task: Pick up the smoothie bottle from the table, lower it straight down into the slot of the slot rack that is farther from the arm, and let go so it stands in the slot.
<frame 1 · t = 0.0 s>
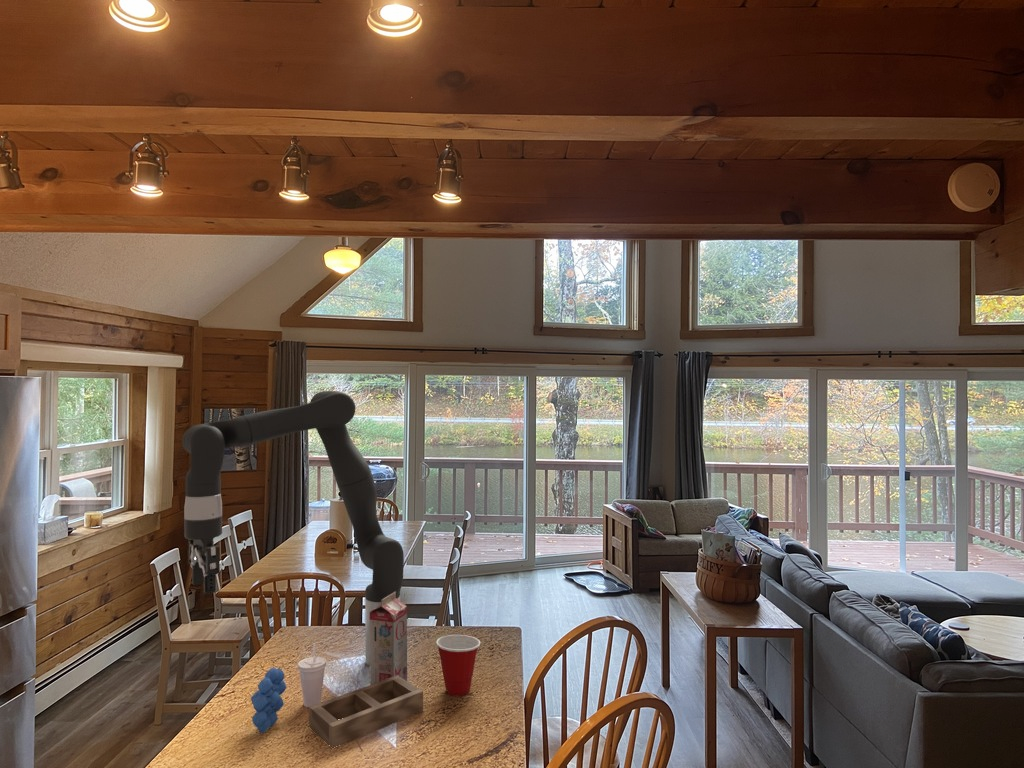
hand: (203, 588, 138), 29 cm above the table, tool pointing down, fingers open, 8 cm apart
slot rack: (367, 719, 138), on the table
juice carton: (388, 685, 154), on the table
plastic cup: (458, 690, 151), on the table
grapes: (265, 727, 135), on the table
smoothie: (312, 704, 145), on the table
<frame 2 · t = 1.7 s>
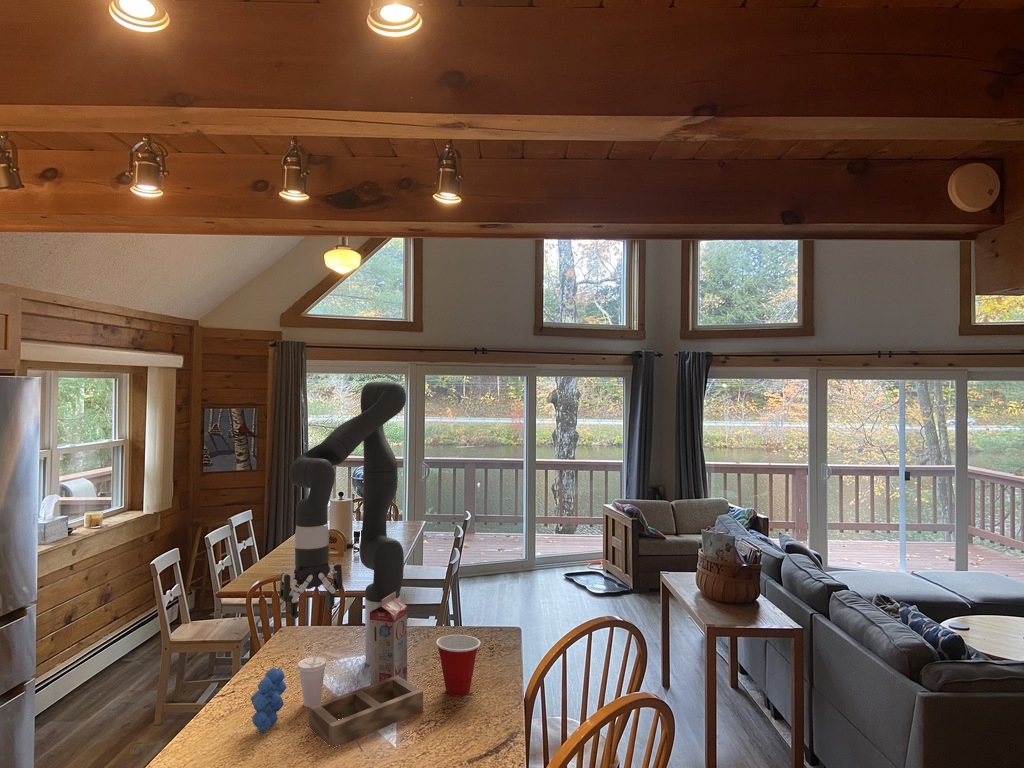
hand: (311, 613, 145), 21 cm above the table, tool pointing down, fingers open, 8 cm apart
nothing on the table moved.
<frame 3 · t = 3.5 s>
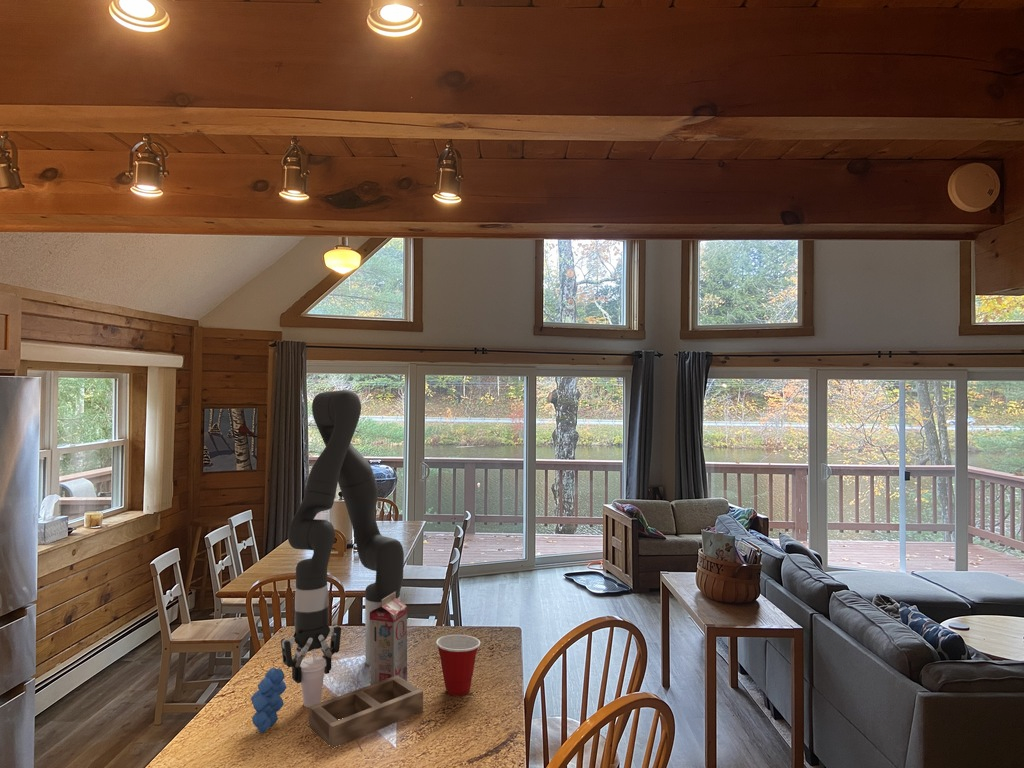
hand: (311, 677, 145), 6 cm above the table, tool pointing down, fingers closed on smoothie, 6 cm apart
smoothie: (312, 704, 145), on the table, touching gripper
everything else where it was.
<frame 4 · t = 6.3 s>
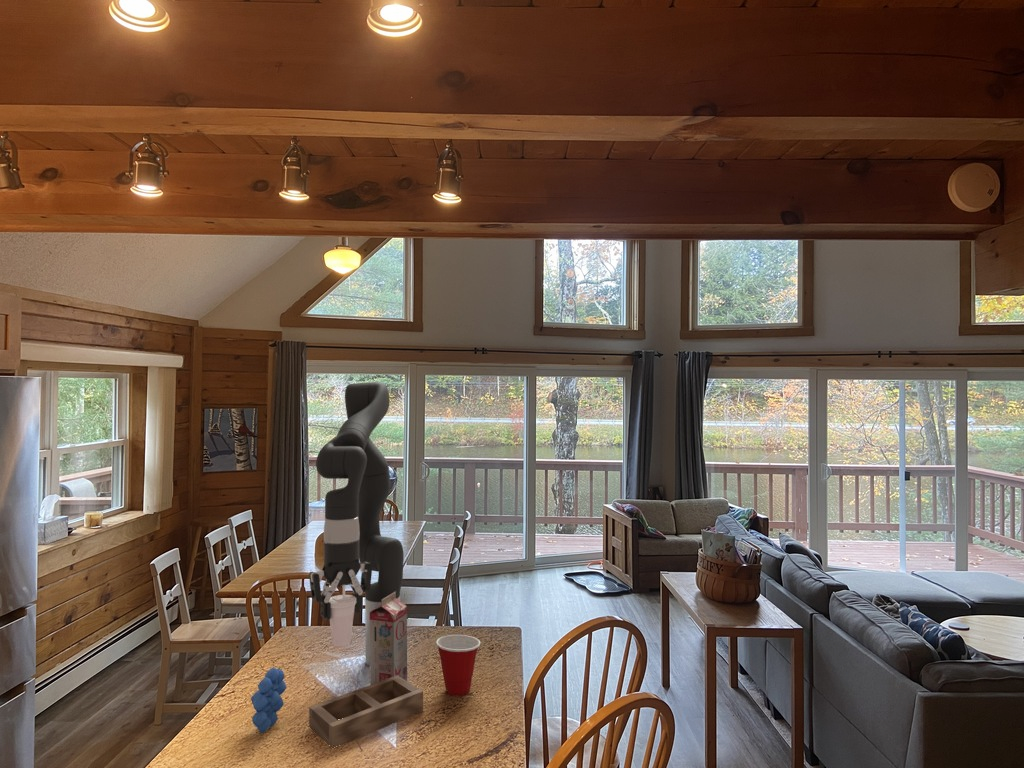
hand: (341, 615, 135), 24 cm above the table, tool pointing down, fingers closed on smoothie, 6 cm apart
smoothie: (341, 644, 135), point 18 cm above the table, touching gripper
everything else where it was.
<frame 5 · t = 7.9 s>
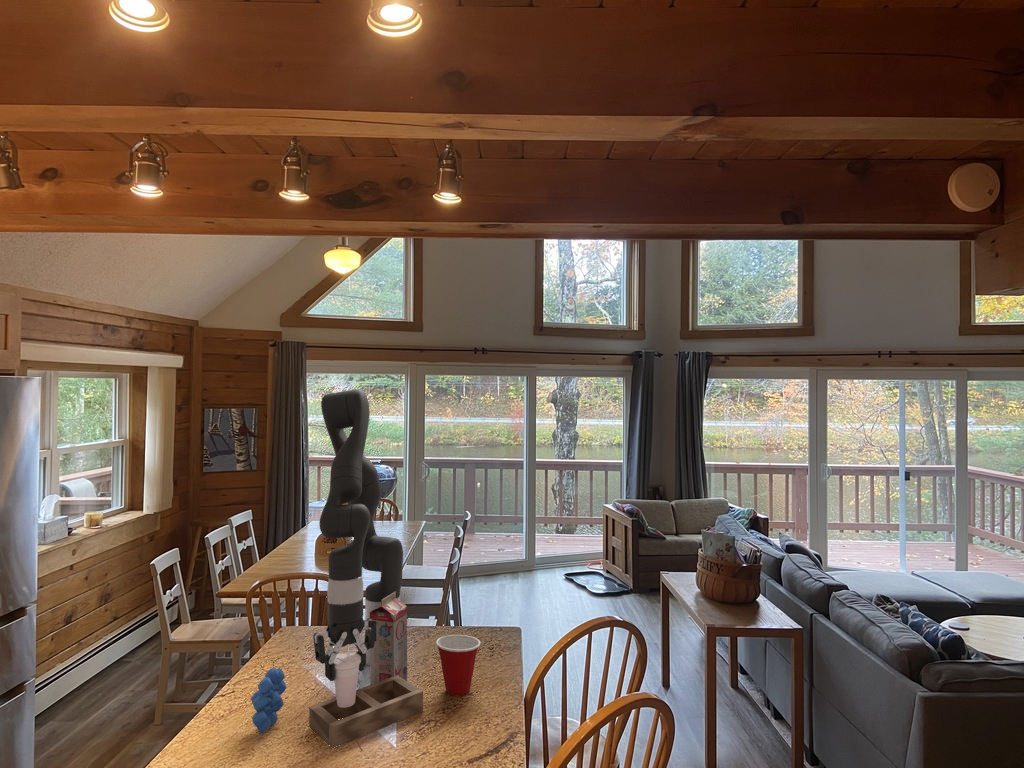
hand: (345, 674, 134), 11 cm above the table, tool pointing down, fingers closed on smoothie, 6 cm apart
smoothie: (346, 704, 134), point 5 cm above the table, touching gripper
everything else where it was.
when the fingers open (8 cm above the table, at t = 9.3 s): smoothie drops 1 cm, resting in slot rack.
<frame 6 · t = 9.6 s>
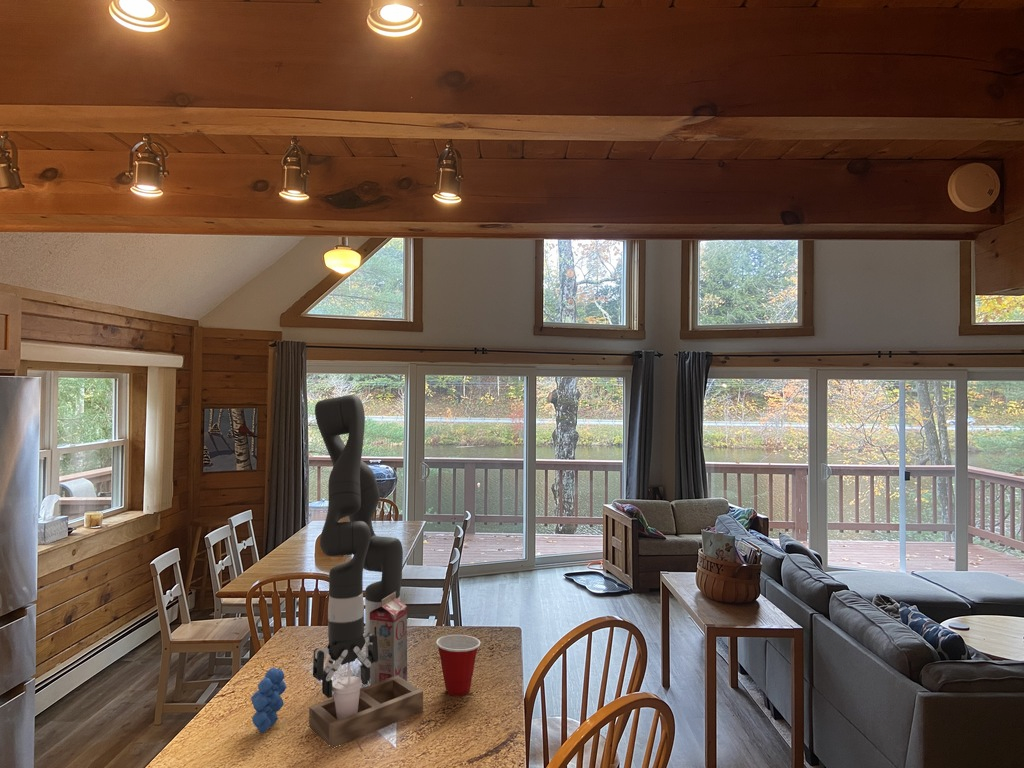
hand: (346, 689, 134), 8 cm above the table, tool pointing down, fingers open, 8 cm apart
smoothie: (347, 728, 134), resting in slot rack
everything else where it was.
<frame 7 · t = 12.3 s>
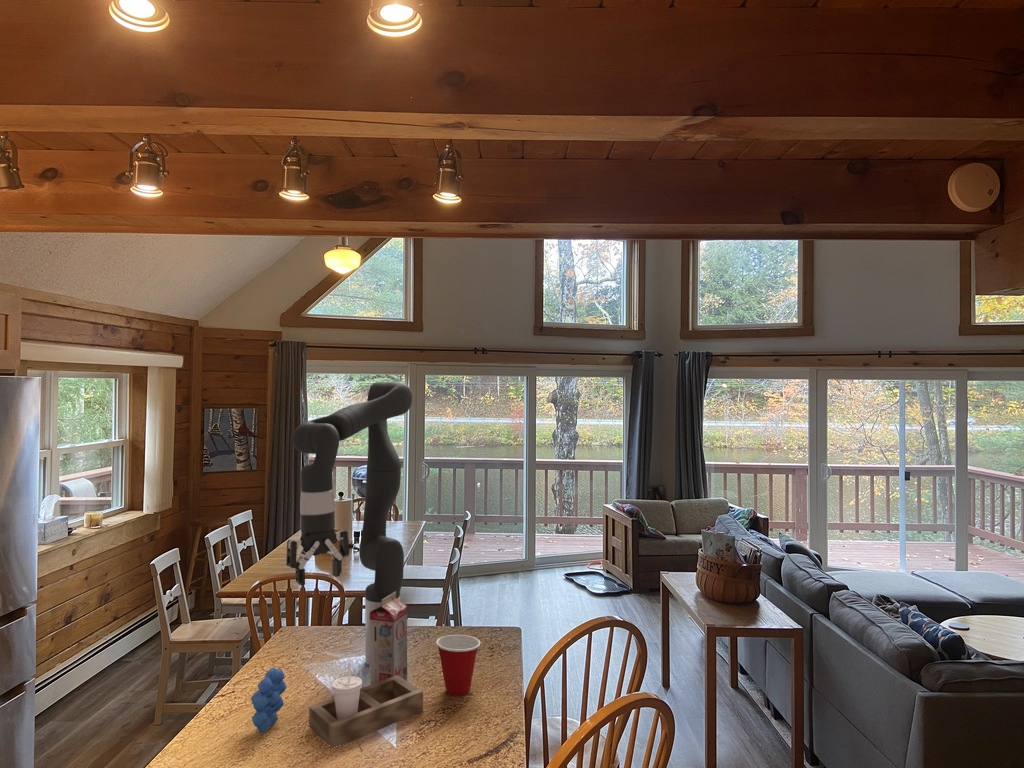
hand: (319, 580, 143), 29 cm above the table, tool pointing down, fingers open, 8 cm apart
nothing on the table moved.
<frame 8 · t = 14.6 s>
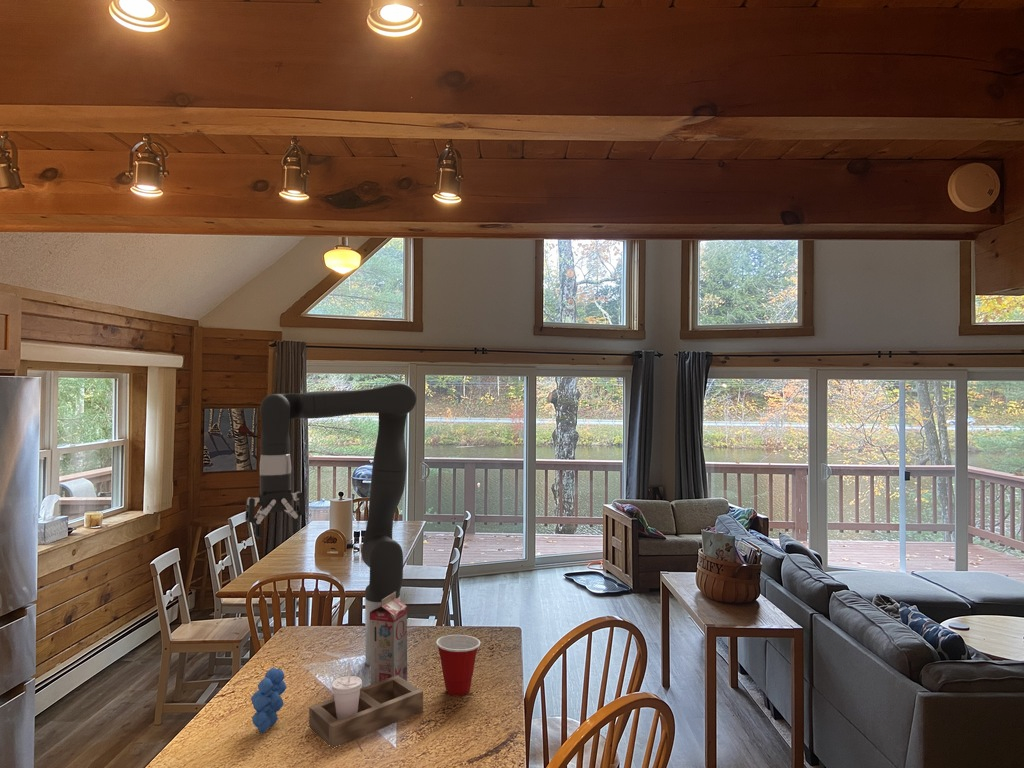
hand: (275, 535, 159), 36 cm above the table, tool pointing down, fingers open, 8 cm apart
nothing on the table moved.
at the end: smoothie 0.1 cm from the target spot on the slot rack, point 0.0 cm above the slot rack's base; smoothie tilted 0°; the gripper is holding nothing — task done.
